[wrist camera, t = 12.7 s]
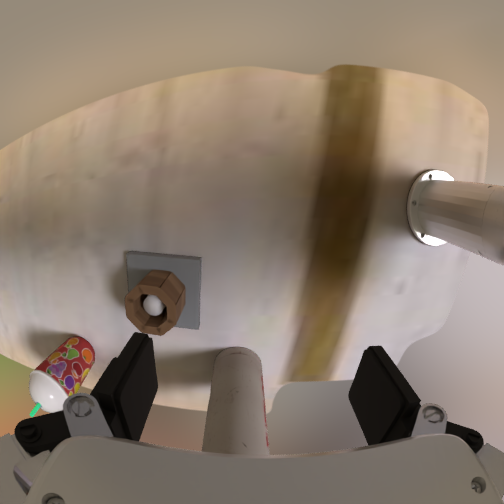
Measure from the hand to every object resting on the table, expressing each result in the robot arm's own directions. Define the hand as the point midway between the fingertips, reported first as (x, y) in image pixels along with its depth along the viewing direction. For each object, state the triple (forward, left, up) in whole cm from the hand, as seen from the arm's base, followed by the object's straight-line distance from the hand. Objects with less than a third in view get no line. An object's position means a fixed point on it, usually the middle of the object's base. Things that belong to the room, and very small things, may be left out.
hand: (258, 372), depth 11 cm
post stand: (+12, +9, -28) cm, 32 cm away
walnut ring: (+12, +9, -27) cm, 31 cm away
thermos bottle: (0, +22, -28) cm, 36 cm away
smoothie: (+30, +24, -28) cm, 48 cm away
